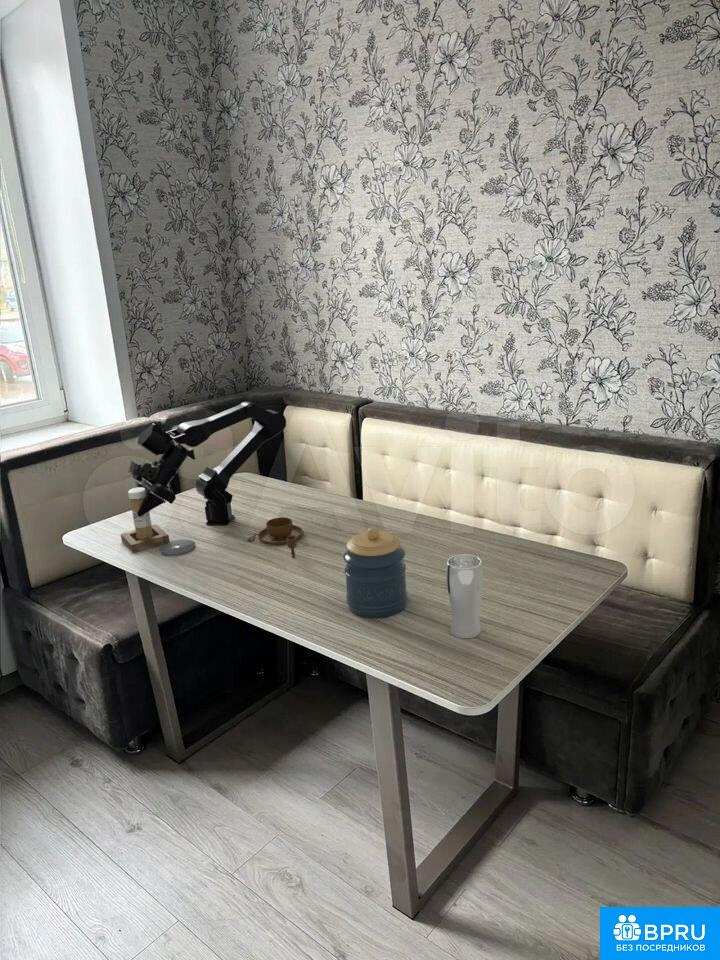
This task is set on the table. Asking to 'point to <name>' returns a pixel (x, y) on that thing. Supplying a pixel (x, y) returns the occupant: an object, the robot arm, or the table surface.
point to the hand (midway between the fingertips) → (135, 513)
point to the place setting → (280, 533)
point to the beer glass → (465, 594)
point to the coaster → (177, 547)
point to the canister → (375, 574)
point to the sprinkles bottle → (143, 521)
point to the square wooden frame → (156, 540)
